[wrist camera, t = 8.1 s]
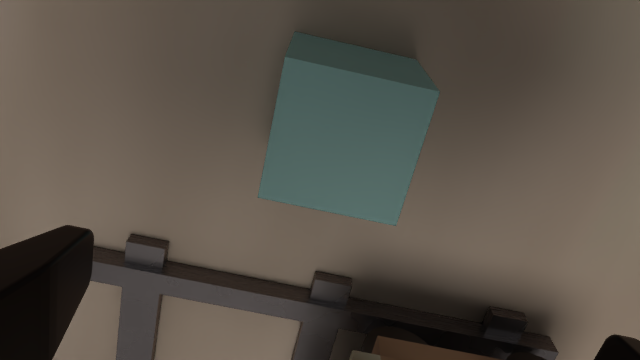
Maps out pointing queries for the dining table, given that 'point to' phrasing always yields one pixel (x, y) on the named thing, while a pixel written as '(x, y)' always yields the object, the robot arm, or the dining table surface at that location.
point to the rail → (289, 307)
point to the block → (346, 129)
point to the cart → (414, 348)
